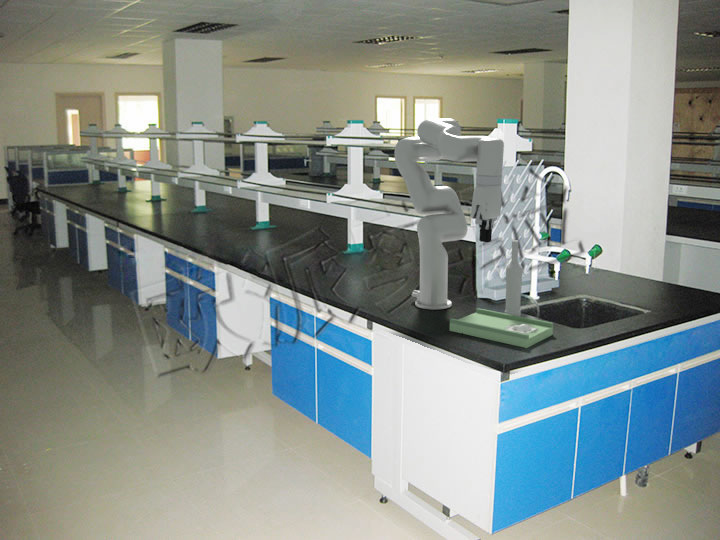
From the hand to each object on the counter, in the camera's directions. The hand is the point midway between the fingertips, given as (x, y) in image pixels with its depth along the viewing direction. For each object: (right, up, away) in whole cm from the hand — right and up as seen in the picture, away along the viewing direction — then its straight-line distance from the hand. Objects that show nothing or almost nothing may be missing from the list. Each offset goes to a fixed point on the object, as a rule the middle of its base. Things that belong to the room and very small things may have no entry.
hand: (485, 241), depth 209 cm
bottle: (+12, -24, +17) cm, 32 cm away
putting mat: (+5, -27, -1) cm, 28 cm away
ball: (+10, -26, -6) cm, 29 cm away
